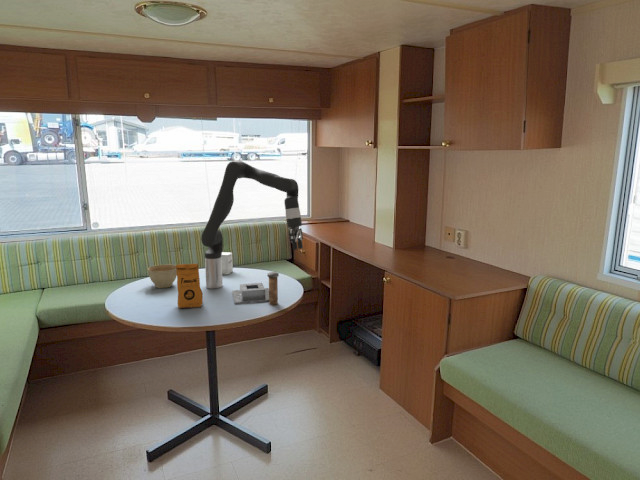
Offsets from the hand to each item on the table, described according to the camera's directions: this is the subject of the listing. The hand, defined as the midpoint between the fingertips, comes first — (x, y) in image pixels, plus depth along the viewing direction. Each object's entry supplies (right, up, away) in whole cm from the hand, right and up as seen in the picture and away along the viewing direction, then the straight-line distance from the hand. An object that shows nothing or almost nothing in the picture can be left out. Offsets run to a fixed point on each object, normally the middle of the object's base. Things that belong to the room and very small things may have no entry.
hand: (298, 249), depth 232 cm
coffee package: (-54, -29, -3) cm, 61 cm away
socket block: (-25, -26, +12) cm, 38 cm away
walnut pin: (-13, -28, +1) cm, 31 cm away
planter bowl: (-79, -22, +30) cm, 87 cm away
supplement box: (-49, -16, +58) cm, 78 cm away
